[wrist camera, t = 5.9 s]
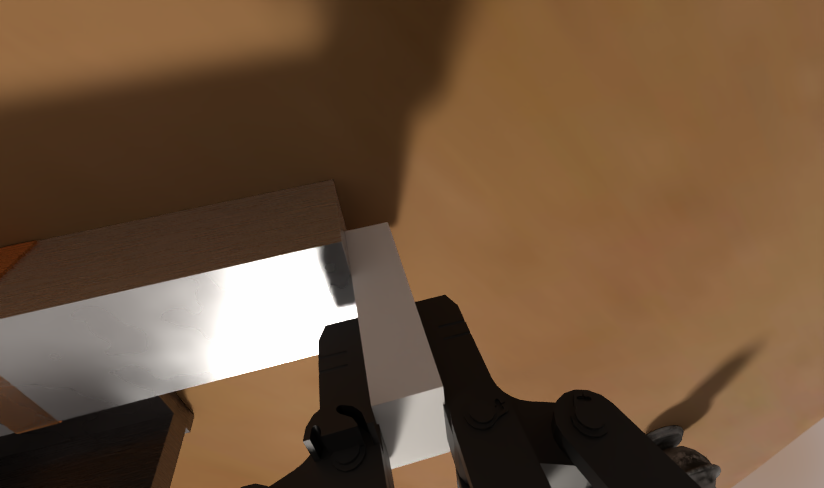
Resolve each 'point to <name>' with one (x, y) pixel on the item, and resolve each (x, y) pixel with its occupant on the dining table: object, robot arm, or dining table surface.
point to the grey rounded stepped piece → (686, 456)
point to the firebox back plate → (100, 448)
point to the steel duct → (168, 303)
